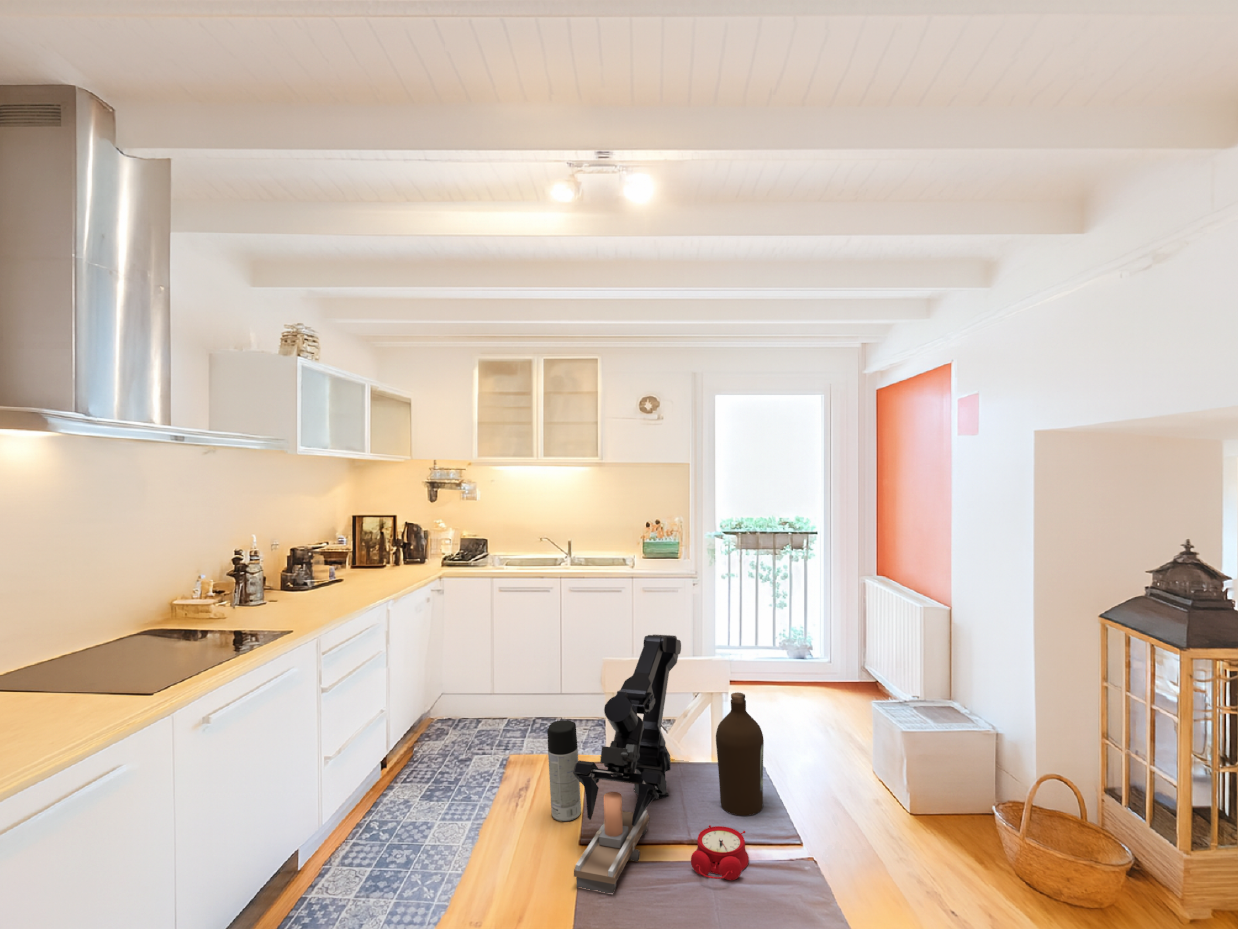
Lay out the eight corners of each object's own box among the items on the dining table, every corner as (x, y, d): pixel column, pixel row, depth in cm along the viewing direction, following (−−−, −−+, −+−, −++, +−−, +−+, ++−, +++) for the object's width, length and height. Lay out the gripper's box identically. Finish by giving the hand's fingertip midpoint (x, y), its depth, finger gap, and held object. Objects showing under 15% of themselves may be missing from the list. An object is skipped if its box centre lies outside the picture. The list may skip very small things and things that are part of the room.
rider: (607, 831, 133) (606, 788, 133) (628, 834, 131) (627, 791, 131) (599, 845, 128) (597, 801, 128) (620, 848, 126) (618, 804, 126)
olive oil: (722, 819, 142) (719, 704, 142) (714, 794, 153) (710, 687, 153) (771, 816, 142) (767, 702, 142) (759, 792, 153) (755, 685, 153)
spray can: (584, 806, 149) (579, 719, 148) (577, 823, 142) (571, 732, 142) (556, 805, 150) (551, 718, 150) (547, 821, 143) (542, 731, 143)
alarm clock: (752, 828, 132) (740, 852, 118) (752, 862, 131) (740, 891, 117) (702, 820, 136) (684, 842, 122) (701, 853, 134) (683, 880, 120)
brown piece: (609, 823, 141) (609, 803, 142) (654, 831, 138) (653, 810, 138) (569, 886, 121) (568, 863, 121) (620, 896, 117) (619, 872, 117)
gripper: (575, 722, 136) (554, 801, 126) (661, 731, 130) (647, 815, 120) (590, 744, 144) (571, 820, 133) (672, 754, 138) (660, 834, 127)
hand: (610, 822), depth 128 cm, fingers open, 9 cm apart
